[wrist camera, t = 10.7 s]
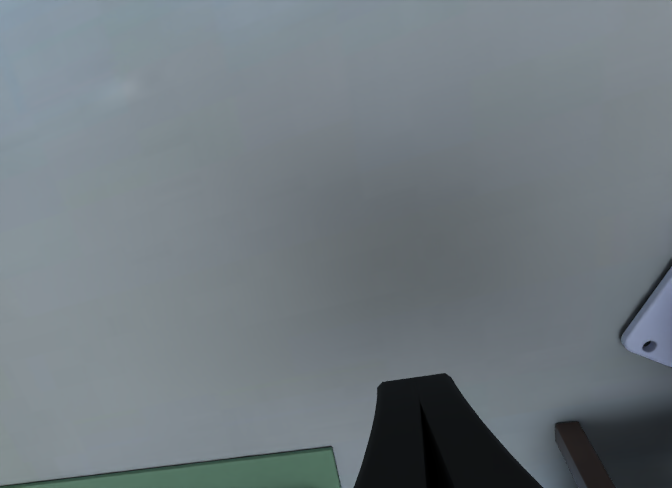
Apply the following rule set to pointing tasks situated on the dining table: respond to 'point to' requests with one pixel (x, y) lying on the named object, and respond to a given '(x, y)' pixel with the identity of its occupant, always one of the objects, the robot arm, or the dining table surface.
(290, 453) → the mat
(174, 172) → the dining table surface
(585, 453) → the table
